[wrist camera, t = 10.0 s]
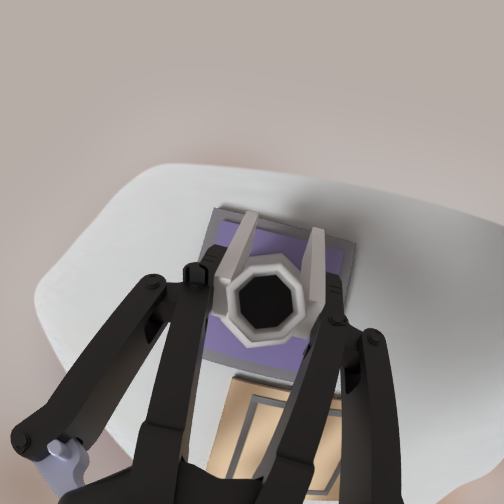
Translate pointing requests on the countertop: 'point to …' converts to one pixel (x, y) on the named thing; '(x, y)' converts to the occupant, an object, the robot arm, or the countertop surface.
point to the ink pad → (265, 242)
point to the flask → (265, 301)
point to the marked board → (270, 437)
